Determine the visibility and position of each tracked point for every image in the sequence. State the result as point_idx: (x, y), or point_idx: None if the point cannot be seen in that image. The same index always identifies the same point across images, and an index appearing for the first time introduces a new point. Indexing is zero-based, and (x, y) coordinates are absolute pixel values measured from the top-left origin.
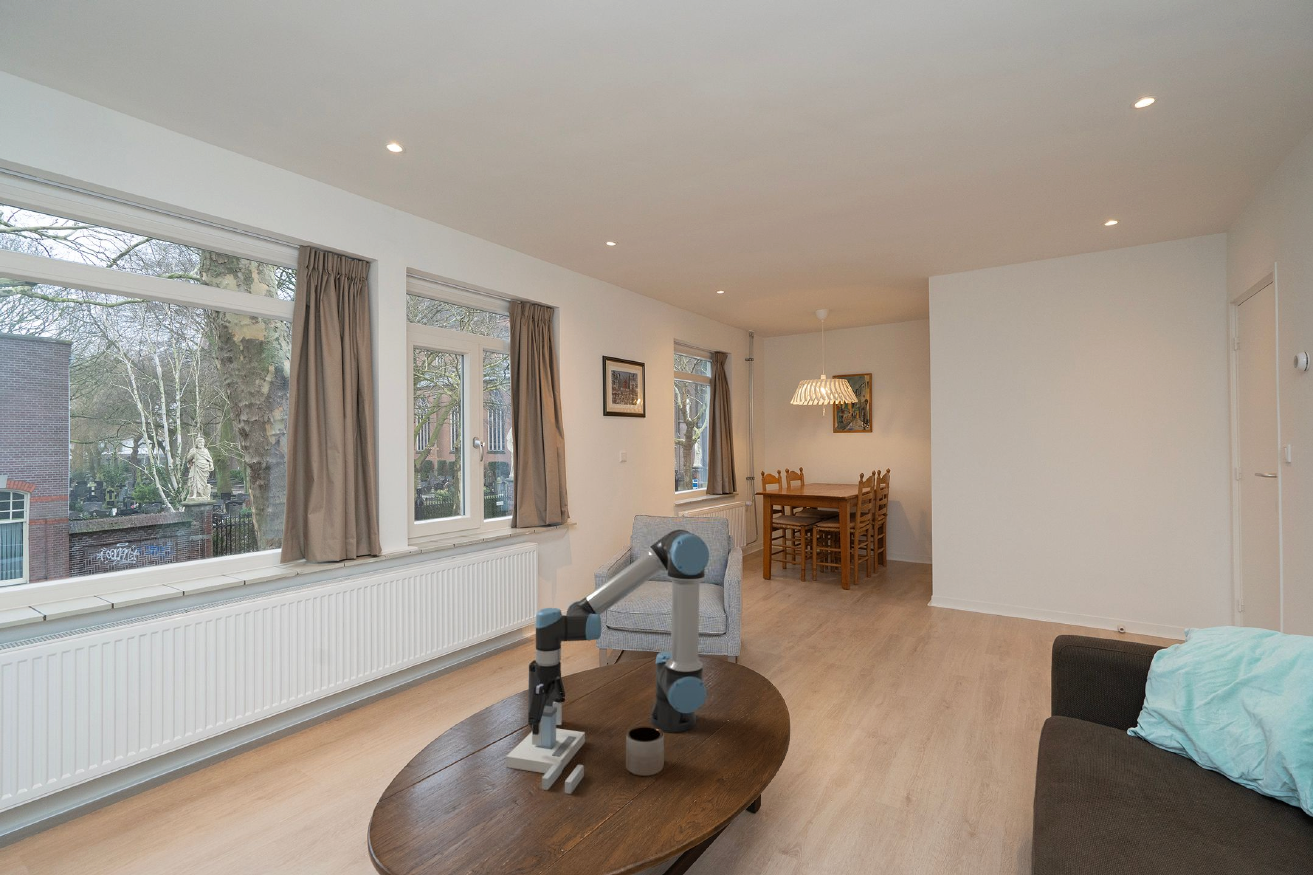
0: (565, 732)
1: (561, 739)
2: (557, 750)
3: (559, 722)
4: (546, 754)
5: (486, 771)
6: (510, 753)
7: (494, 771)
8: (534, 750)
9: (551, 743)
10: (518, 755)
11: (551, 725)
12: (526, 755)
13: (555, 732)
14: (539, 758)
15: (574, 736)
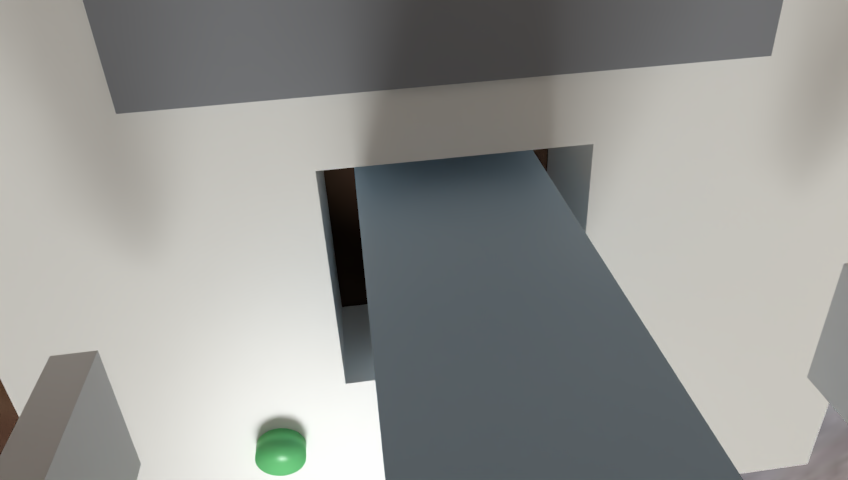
0: (27, 223)
1: (261, 166)
2: (629, 41)
3: (91, 396)
4: (741, 136)
5: (827, 459)
6: (747, 462)
7: (826, 419)
8: (657, 313)
9: (527, 208)
10: (782, 388)
11: (643, 406)
12: (779, 326)
13: (400, 283)
14: (844, 165)
15: (51, 18)
